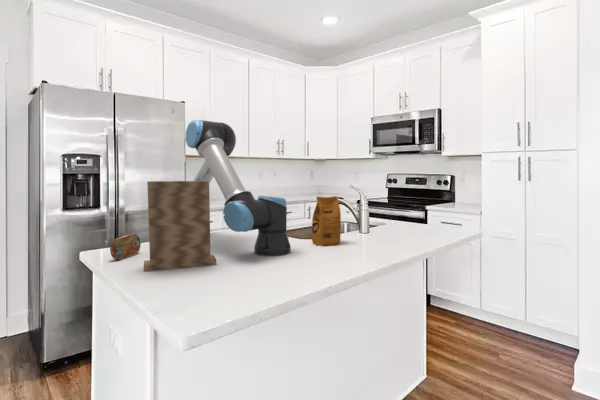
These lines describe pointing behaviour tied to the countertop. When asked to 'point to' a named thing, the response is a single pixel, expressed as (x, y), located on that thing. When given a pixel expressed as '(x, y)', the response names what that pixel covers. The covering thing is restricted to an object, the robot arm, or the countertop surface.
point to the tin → (125, 247)
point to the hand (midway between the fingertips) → (176, 222)
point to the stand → (178, 225)
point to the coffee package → (326, 221)
